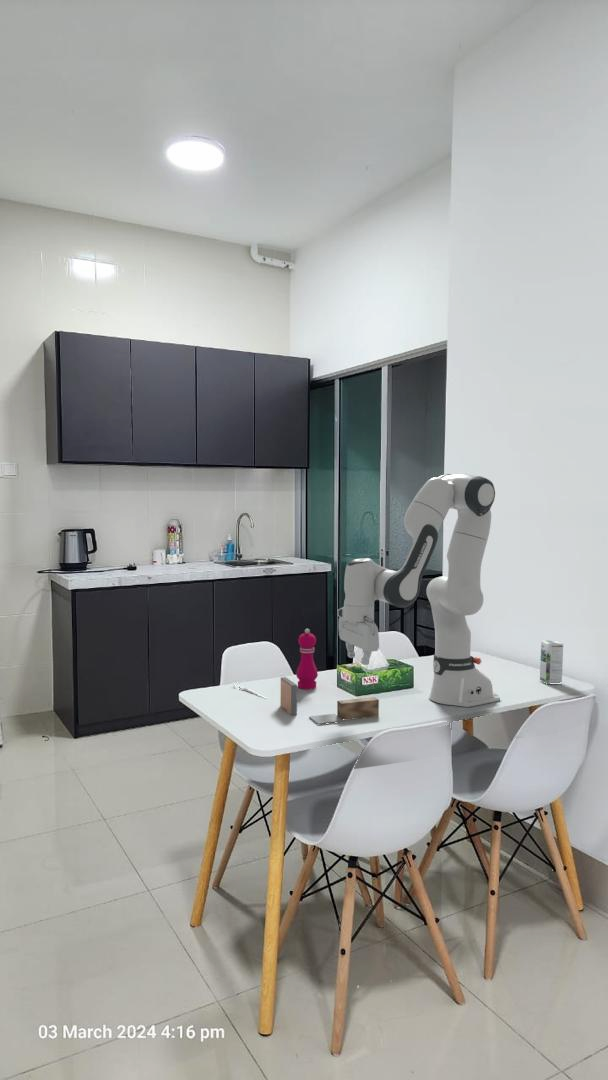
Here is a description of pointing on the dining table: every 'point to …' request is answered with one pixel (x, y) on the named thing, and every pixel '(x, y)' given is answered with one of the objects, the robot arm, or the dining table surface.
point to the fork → (246, 689)
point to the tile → (289, 696)
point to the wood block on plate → (350, 710)
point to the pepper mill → (307, 661)
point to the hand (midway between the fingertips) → (358, 660)
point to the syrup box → (551, 661)
